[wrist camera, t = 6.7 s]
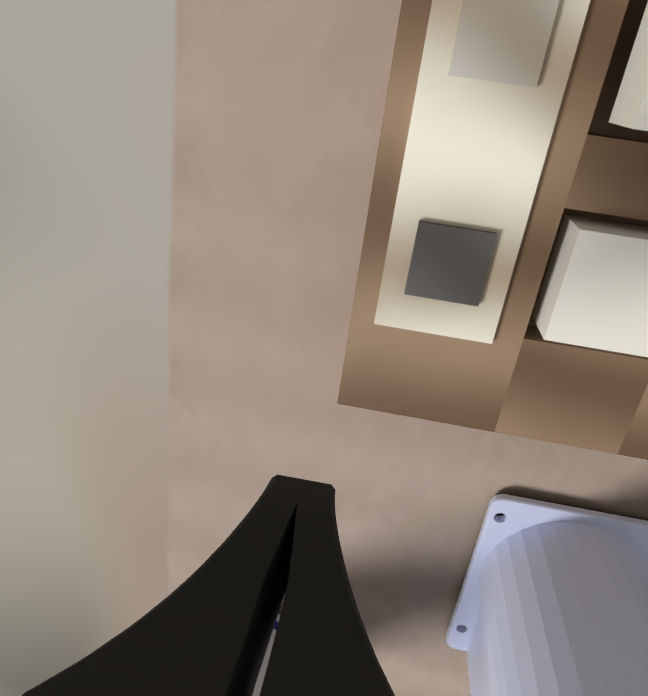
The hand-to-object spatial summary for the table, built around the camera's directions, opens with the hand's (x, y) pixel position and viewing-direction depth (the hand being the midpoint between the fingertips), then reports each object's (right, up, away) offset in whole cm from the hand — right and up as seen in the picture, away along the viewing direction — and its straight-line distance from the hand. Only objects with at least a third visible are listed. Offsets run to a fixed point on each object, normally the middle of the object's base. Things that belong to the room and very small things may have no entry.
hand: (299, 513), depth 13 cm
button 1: (+10, +6, +6) cm, 13 cm away
